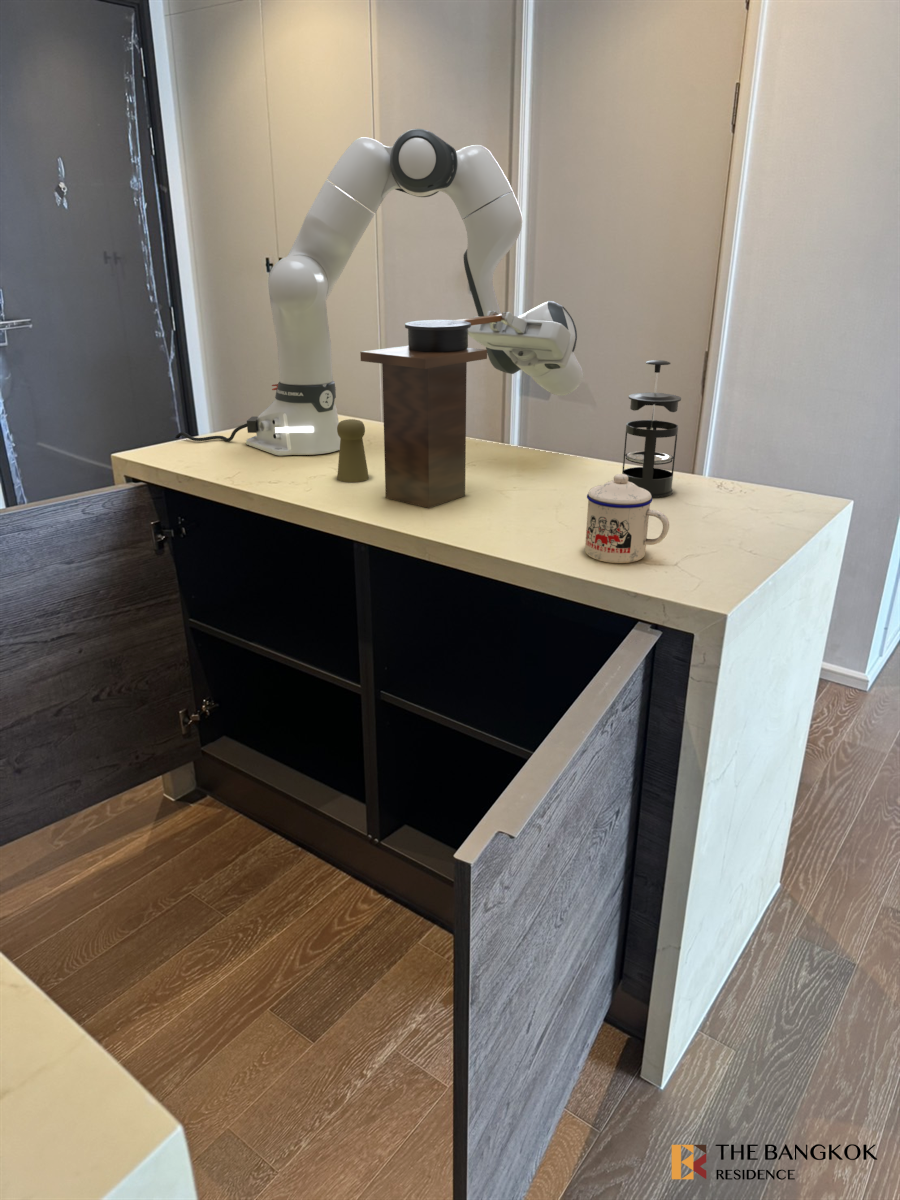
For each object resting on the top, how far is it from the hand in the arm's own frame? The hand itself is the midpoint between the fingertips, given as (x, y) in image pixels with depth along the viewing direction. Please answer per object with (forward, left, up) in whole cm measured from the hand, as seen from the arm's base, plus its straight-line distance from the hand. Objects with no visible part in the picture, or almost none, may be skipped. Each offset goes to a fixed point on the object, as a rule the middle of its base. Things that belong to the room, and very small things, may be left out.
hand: (497, 315), depth 155 cm
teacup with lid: (+42, -25, -30) cm, 57 cm away
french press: (+28, +9, -30) cm, 42 cm away
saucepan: (0, -10, -4) cm, 11 cm away
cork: (-19, -19, -30) cm, 40 cm away
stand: (0, -20, -29) cm, 36 cm away
